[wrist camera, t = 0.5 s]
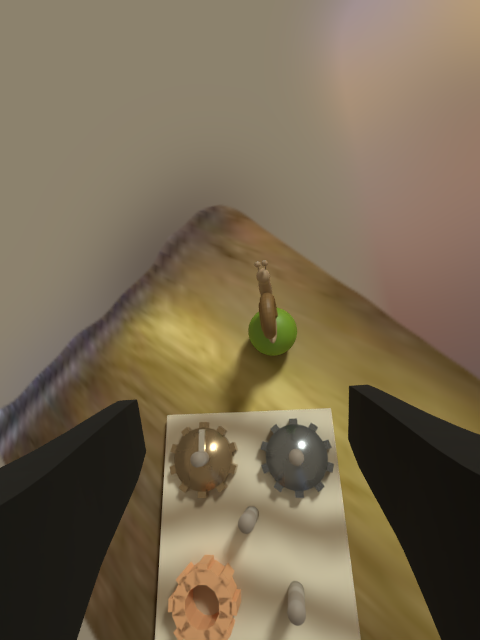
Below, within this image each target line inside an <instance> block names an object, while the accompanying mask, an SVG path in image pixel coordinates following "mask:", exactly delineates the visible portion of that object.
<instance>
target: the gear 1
mask: <svg viewBox="0 0 480 640" xmlns="http://www.w3.org/2000/svg"><path fill="white" fill-rule="evenodd" d="M226 432H227V430H226V429H225V428H223V427H222V426H219V427H218V428H217V430H215V429H212V428H209V422H199V428H197V429H194V430H192V429H191V428H190V427H186V428H185V429H184V430H183V431H181V433H182V435H183V436H184V437H183V438H182V439H181V441H180V442H179V444H173V445H172V448H171V451H170V452H172V453H175V457H174V464H175V465H173V466H170V472H171V475H173V474H176V473H177V475H178V477H179V479H180V480H181V482H182V483H181V485H180V486H179V488H180V489H181V490H182V491H183V492H184V493H186V492H188V491H189V490H190V489H192V490H194V491H198V498H207V497H208V496H209V490H212V489H214V488H217V490H218V492H219V493H220V492H221V491H222V490H224V489H225V488H226V487H227V486H228V485H227V483H226V482H225V480H226V478H227V477H228V475H229V474H230V473H232V474H235V473H236V471H237V467H238V464H235V463H233V451H236V450H238V449H237V445H236V442H232V443H230V442H229V441H228V439H227V438H226V437H225V436H224V435H225V434H226ZM199 451H203V452H206V453H207V454H208V455H209V461H208V463H207V464H206V465H205V466H201V467H194V466H192V464H191V462H190V458H191V456H192V454H193V453H195V452H199Z"/></svg>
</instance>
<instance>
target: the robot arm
mask: <svg viewBox="0 0 480 640" xmlns="http://www.w3.org/2000/svg"><path fill="white" fill-rule="evenodd" d="M348 440H349V442H350V445H351V448H352V451H353V453H354V456H355V458H356V461H357V463H358V466H359V468H360V470H361V472H362V474H363V475H364V477H365V479H366V481H367V483H368V485H369V487H370V488H371V490H372V492H373V494H374V496H375V498H376V499H377V501H378V503H379V505H380V507H381V509H382V510H383V512H384V514H385V516H386V518H387V520H388V521H389V523H390V525H391V527H392V529H393V530H394V532H395V534H396V536H397V538H398V540H399V542H400V544H401V546H402V548H403V550H404V552H405V555H406V557H407V559H408V562H409V564H410V566H411V568H412V571H413V573H414V575H415V578H416V580H417V582H418V585H419V587H420V589H421V592H422V594H423V596H424V599H425V601H426V604H427V606H428V608H429V611H430V613H431V616H432V618H433V621H434V623H435V625H436V628H437V630H438V633H439V635H440V637H441V640H480V435H479V434H476V433H473V432H471V431H468V430H466V429H463V428H461V427H458V426H456V425H453V424H451V423H449V422H446V421H444V420H442V419H440V418H437V417H435V416H433V415H431V414H428V413H426V412H424V411H422V410H420V409H418V408H416V407H414V406H412V405H410V404H408V403H406V402H404V401H402V400H400V399H398V398H396V397H394V396H392V395H390V394H387V393H385V392H383V391H381V390H379V389H377V388H375V387H372V386H370V385H357V386H349V427H348ZM145 454H146V448H145V442H144V436H143V431H142V425H141V419H140V413H139V408H138V402H137V400H123V401H118V402H116V403H114V404H112V405H110V406H108V407H106V408H105V409H103V410H101V411H100V412H98V413H97V414H95V415H93V416H92V417H90V418H88V419H87V420H85V421H84V422H82V423H80V424H79V425H77V426H76V427H74V428H72V429H71V430H69V431H67V432H66V433H64V434H62V435H60V436H59V437H57V438H55V439H54V440H52V441H50V442H48V443H47V444H45V445H43V446H41V447H40V448H38V449H36V450H34V451H33V452H31V453H29V454H27V455H25V456H23V457H21V458H19V459H17V460H15V461H13V462H11V463H9V464H7V465H5V466H3V467H1V468H0V640H77V637H78V634H79V631H80V628H81V624H82V622H83V618H84V615H85V612H86V609H87V606H88V603H89V600H90V597H91V594H92V591H93V588H94V585H95V582H96V579H97V576H98V573H99V570H100V567H101V565H102V562H103V560H104V557H105V555H106V552H107V549H108V547H109V545H110V543H111V540H112V538H113V536H114V534H115V531H116V529H117V527H118V525H119V522H120V520H121V518H122V515H123V513H124V511H125V509H126V506H127V504H128V502H129V500H130V497H131V495H132V493H133V490H134V488H135V486H136V483H137V481H138V478H139V475H140V471H141V468H142V465H143V461H144V457H145Z"/></svg>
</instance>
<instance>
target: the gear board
mask: <svg viewBox="0 0 480 640" xmlns="http://www.w3.org/2000/svg"><path fill="white" fill-rule="evenodd" d="M295 418H297V424H298V425H303V426H306V427H309V425H310V423H313V424H314V425H316V426H317V427H318V429H317V430H316V433H317V434H318V435H319V437H320V438H321V439H322V441H324V440H327V439H328V440H329V442H330V444H331V446H332V448H330V449H327V455H328V462H331V463H333V464H334V467H333V473H332V472H329V471H326V473H325V475H324V477H323V478H322V480H321V482H322V483H323V484H324V486H325V487H324V488H323V489H322V490H321V491H319V492H318V491H317V490H316V488H315V487H313V488H311V489H308V490H305V491H304V498H295V491H293V490H290V489H287V488H285V487H283V489H282V491H281V492H279V491H278V490H277V489H275V488H274V485H275V483H276V480H275V479H274V478H273V477H272V475H271V473H270V472H267V473H265V474H264V472H263V469H262V466H261V465H262V464H264V463H266V451H264V450H260V449H261V445H262V441H264V442H269V440H270V438H271V436H272V435H273V434H274V433H273V432H272V431H271V429H270V428H272V427H273V426H274V425H275V424H277V425H278V427H279V428H282V427H284V426H286V425H290V424H289V419H295ZM199 422H209V428H212V429H215V430H217V428H218V427H219V426H222V427H223V428H225V429H226V430H227V432H226V434H225V435H224V436H225V437H226V438H227V439H228V441H229V442H230V443H232V442H236V445H237V449H238V450H236V451H233V463H235V464H238V467H237V471H236V473H235V474H232V473H230V474H229V475H228V477H227V478H226V480H225V482H226V483H227V485H228V486H227V487H226V488H225V489H224V490H222V491H221V492H220V493H219V492H218V490H217V488H214V489H212V490H209V496H208V497H207V498H198V491H194V490H192V489H190V490H189V491H188V492H186V493H184V492H183V491H182V490H181V489H180V488H179V486H180V485H181V483H182V482H181V480H180V479H179V477H178V475H177V473H176V474H173V475H171V472H170V466H173V465H175V464H174V457H175V453H172V452H170V451H171V448H172V445H173V444H179V442H180V441H181V439H182V438H183V437H184V436H183V435H182V433H181V431H183V430H184V429H185V428H186V427H190V428H191V429H192V430H194V429H197V428H199ZM208 461H209V455H208V454H207V453H206V452H203V451H199V452H195V453H193V454H192V456H191V458H190V462H191V464H192V466H194V467H201V466H205V465H206V464H207V463H208ZM289 461H290V462H291V463H292V464H293V465H295V466H299V465H301V464H302V463H303V461H304V455H303V453H302V452H301V451H300V450H299V449H293V450H291V452H290V453H289ZM204 555H214V560H217V561H218V562H220V563H221V564H222V565H224V566H225V565H226V564H227V563H229V564H230V566H231V567H232V568H233V569H234V573H233V576H232V577H233V579H234V581H235V583H236V585H237V589H241V604H240V607H239V610H238V613H237V616H235V615H233V618H234V619H235V624H234V627H233V630H232V633H231V636H230V637H229V639H228V640H361V638H360V631H359V623H358V615H357V607H356V600H355V592H354V584H353V576H352V569H351V561H350V553H349V545H348V538H347V530H346V522H345V514H344V507H343V499H342V491H341V483H340V476H339V468H338V460H337V452H336V445H335V437H334V429H333V421H332V414H331V408H327V409H304V410H280V411H256V412H233V413H209V414H186V415H167V432H166V450H165V468H164V486H163V504H162V522H161V540H160V558H159V576H158V593H157V611H156V629H155V640H178V639H177V638H176V636H175V635H174V631H175V629H176V628H177V627H176V625H175V622H174V619H173V617H172V612H168V599H169V598H170V596H171V595H172V594H173V593H174V591H175V590H176V588H177V586H178V583H177V581H176V579H177V577H178V576H179V575H180V574H181V573H182V571H183V570H184V569H185V568H186V567H187V566H188V564H189V563H190V562H192V563H193V565H195V564H197V563H198V562H199V561H200V560H201V559H202V558H203V556H204ZM193 600H194V602H195V604H196V607H197V609H198V610H200V611H201V612H202V613H203V614H204V615H214V614H215V613H217V612H218V611H219V601H218V598H217V596H216V594H215V591H213V590H212V589H211V588H209V587H208V586H207V585H197V586H195V587H194V588H193ZM183 640H185V639H183Z"/></svg>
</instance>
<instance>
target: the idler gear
mask: <svg viewBox="0 0 480 640" xmlns="http://www.w3.org/2000/svg"><path fill="white" fill-rule="evenodd" d="M233 573H234V569H233V568H232V567H231V566H230V564H229V563H227V564H226V565H225V566H224V565H222V564H221V563H220V562H218V561H217V560H214V555H204V556H203V558H202V559H201V560H200V561H199V562H198V563H197V564H195V565H193V563H192V562H190V563H189V564H188V566H187V567H186V568H185V569H184V570H183V571H182V573H181V574H180V575H179V576H178V577H177V579H176V581H177V583H178V586H177V588H176V590H175V591H174V593H173V594H172V595H171V596H170V598H169V599H168V612H172V617H173V619H174V622H175V625H176V627H177V628H176V629H175V631H174V635H175V636H176V638H177V639H178V640H183V639H185V640H228V639H229V637H230V636H231V633H232V630H233V627H234V624H235V619H234V618H233V615H235V616H237V613H238V610H239V607H240V604H241V589H237V585H236V583H235V581H234V579H233V577H232V576H233ZM197 585H207V586H208V587H209V588H211V589H212V590H213V591H215V594H216V596H217V598H218V601H219V611H218V612H217V613H215V614H214V615H204V614H203V613H202V612H201V611H200V610H198V609H197V607H196V604H195V602H194V600H193V588H194V587H195V586H197Z"/></svg>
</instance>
